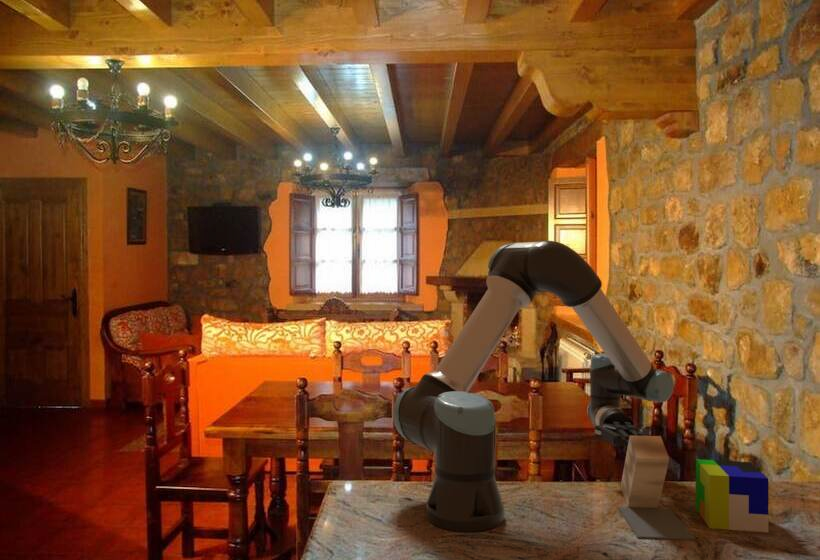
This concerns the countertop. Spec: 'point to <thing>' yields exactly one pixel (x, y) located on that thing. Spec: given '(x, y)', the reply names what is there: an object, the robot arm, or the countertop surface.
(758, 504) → the puzzle toy
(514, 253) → the robot arm
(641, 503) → the beech block
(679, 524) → the rubber mat
